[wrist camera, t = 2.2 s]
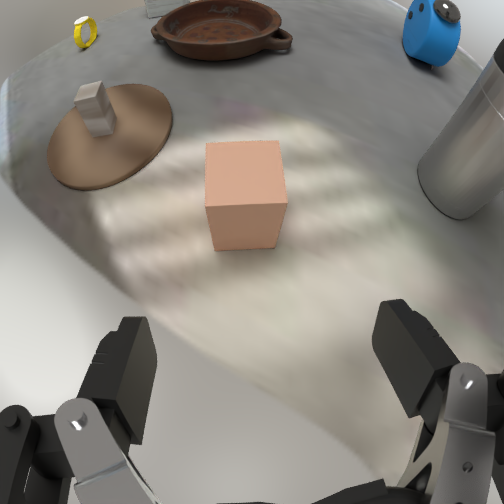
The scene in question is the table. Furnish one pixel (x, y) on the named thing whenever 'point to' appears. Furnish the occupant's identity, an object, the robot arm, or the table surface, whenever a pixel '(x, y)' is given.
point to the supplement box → (162, 6)
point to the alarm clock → (432, 31)
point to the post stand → (108, 135)
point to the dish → (222, 29)
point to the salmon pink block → (244, 194)
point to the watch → (77, 31)
